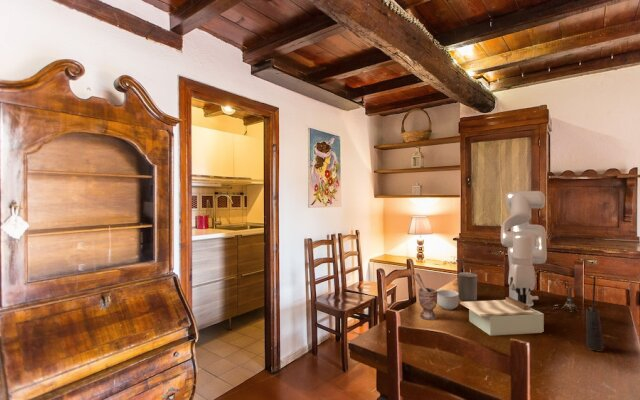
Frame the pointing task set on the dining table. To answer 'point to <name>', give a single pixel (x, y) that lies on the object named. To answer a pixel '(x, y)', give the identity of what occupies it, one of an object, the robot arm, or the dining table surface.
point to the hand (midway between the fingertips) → (522, 302)
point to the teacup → (447, 299)
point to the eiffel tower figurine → (569, 301)
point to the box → (509, 323)
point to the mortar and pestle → (426, 299)
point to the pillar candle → (467, 286)
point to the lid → (498, 307)
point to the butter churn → (593, 327)
